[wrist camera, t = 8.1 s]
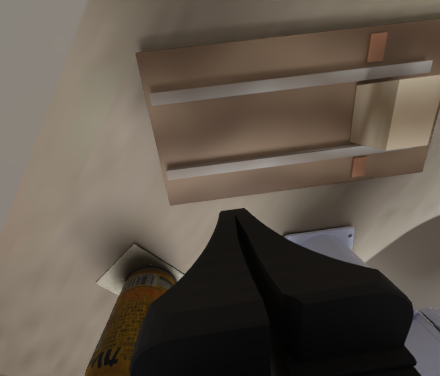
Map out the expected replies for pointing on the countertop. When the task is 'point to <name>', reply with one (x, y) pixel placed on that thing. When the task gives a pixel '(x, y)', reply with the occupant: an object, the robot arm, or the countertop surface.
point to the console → (278, 109)
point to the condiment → (129, 308)
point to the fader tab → (395, 113)
